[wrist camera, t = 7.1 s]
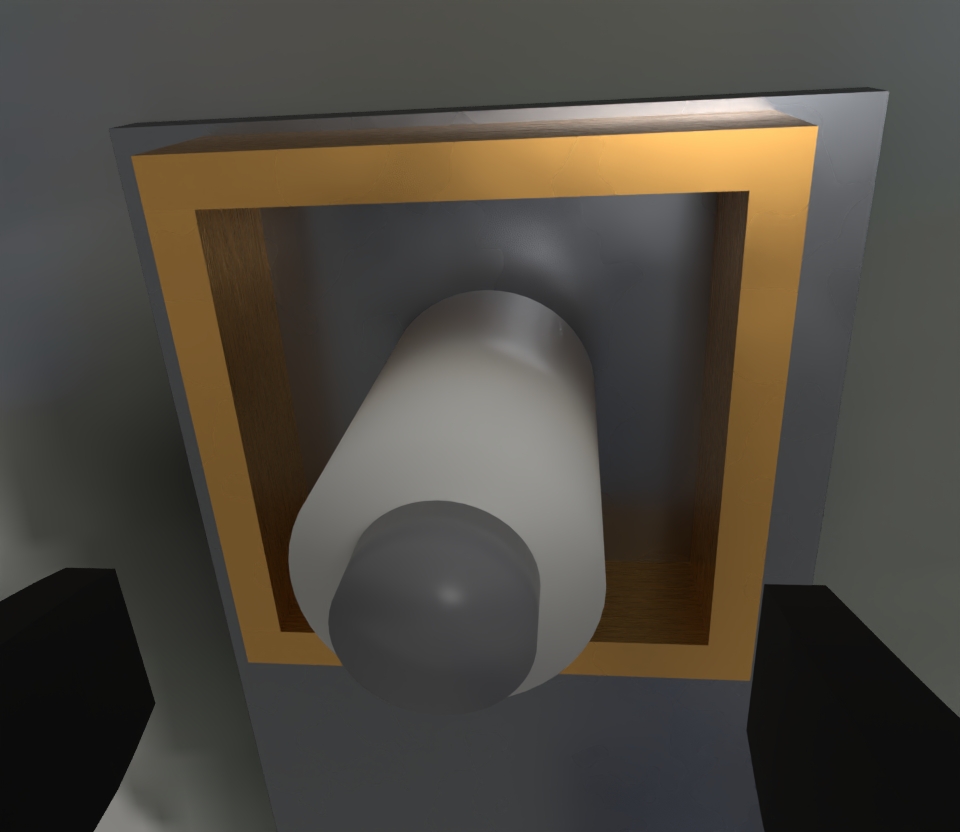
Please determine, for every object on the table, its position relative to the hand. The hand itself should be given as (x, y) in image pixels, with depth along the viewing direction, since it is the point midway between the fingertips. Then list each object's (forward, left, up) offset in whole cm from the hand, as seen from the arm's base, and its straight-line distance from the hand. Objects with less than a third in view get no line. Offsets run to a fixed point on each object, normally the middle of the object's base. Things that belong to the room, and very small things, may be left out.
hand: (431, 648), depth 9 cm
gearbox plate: (-5, 0, -8) cm, 10 cm away
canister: (0, 0, -7) cm, 7 cm away
